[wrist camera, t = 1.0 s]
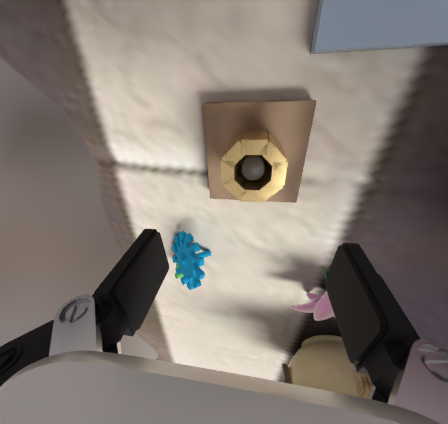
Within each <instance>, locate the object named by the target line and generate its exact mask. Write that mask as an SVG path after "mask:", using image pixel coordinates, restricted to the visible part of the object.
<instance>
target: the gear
mask: <svg viewBox="0 0 448 424" xmlns="http://www.w3.org/2000/svg"><path fill="white" fill-rule="evenodd" d="M174 241H175V243H176V244H173V245H172V250H173V251H174V252H175V254H176V255H174V256H173V262H174V263H175V262H176V263H177V264H176V267H177V268H176V273H175V277H176V278H180V277H181V282H182V284H183V285H184V284H186V283H187V287H188V288H189V289H190V290H191V289H194V288H196V287H199V286H201V282H200V279H203V278H204V276H205V274H204V272H203V271H202V270H201V269H200V267H199V266H202V265H204V257H207V256H210V255H211V252H210V251H209V250H208V251H205V252H202V253H198V254H196V253H195V252H197V251H200V247H199V244H198V243H195V244H192V246H190V241H193V236H192V235H191V233H189V234H186V232H184V231H182V232H179V235H178V236H175V237H174ZM183 276H184V277H183Z"/></svg>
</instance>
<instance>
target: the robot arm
mask: <svg viewBox="0 0 448 424" xmlns="http://www.w3.org/2000/svg"><path fill="white" fill-rule="evenodd" d="M168 270H169V264H168V260H167V256H166V253H165V249H164V246H163V242H162V239H161V235H160V233H159V232H157V230H155V229H145V230H143V232H142V233H141V234H140V235H139V237H138V238H137V239H136V240H135V242H134V243H133V244H132V245H131V247H130V248H129V249H128V250H127V252H126V253H125V254H124V255H123V257H122V258H121V259H120V261H119V262H118V263H117V264H116V266H115V267H114V268H113V269H112V271H111V272H110V273H109V274H108V276H107V277H106V278H105V279H104V281H103V282H102V283H101V284H100V286H99V287H98V288H97V289H96V291H95V293H94V294H93V295H92V296H90V295H80V296H77V297H75V298H73V299H71V300H69V301H68V302H66V303H65V304H64V305H63V306H62V307H61V308H60V309H59V310H58V312H57V313H56V315H55V318H54V320H52V321H50V322H48V323H46V324H44V325H42V326H40V327H38V328H36V329H34V330H32V331H30V332H28V333H26V334H24V335H22V336H20V337H18V338H16V339H14V340H12V341H10V342H8V343H6V344H4V345H3V346H1V347H0V424H448V349H447V348H446V347H444V346H442V345H440V344H438V343H436V342H434V341H430V340H427V339H420V337H419V336H418V334H417V333H416V331H415V329H414V328H413V326H412V325H411V323H410V321H409V320H408V318H407V317H406V315H405V314H404V312H403V310H402V309H401V307H400V306H399V304H398V302H397V301H396V299H395V298H394V296H393V295H392V293H391V291H390V290H389V288H388V287H387V285H386V284H385V282H384V280H383V279H382V277H381V276H380V275H379V274H377V272H376V271H375V269H374V268H373V266H372V264H371V263H370V261H369V260H368V258H367V256H366V255H365V253H364V252H363V250H362V248H361V247H360V245H359V244H355V243H343V244H342V246H341V245H340V246H339V247H338V249H337V252H336V254H335V257H334V259H333V262H332V264H331V267H330V270H329V272H328V275H327V277H326V280H325V287H326V290H327V294H328V297H329V300H330V303H331V306H332V309H333V312H334V315H335V318H336V321H337V324H338V327H339V331H340V334H341V337H342V340H343V343H344V346H345V349H346V352H347V355H348V358H349V360H350V362H351V363H352V364H354V365H355V368H356V371H357V373H363V374H369V377H370V380H371V382H372V384H373V386H372V389H371V392H370V394H369V397H368V399H366V398H361V397H356V396H351V395H346V394H341V393H336V392H331V391H326V390H321V389H316V388H310V387H305V386H299V385H294V384H288V383H283V382H277V381H272V380H266V379H261V378H255V377H250V376H244V375H239V374H233V373H227V372H222V371H216V370H210V369H205V368H199V367H194V366H188V365H182V364H176V363H171V362H165V361H159V360H153V359H147V358H142V357H136V356H129V355H122V353H121V345H120V340H121V338H122V336H123V335H128V336H133V335H134V333H135V331H136V330H138V329H139V328H140V327H141V325H142V323H143V321H144V319H145V317H146V315H147V313H148V311H149V309H150V307H151V305H152V303H153V301H154V299H155V297H156V295H157V292H158V290H159V288H160V286H161V284H162V282H163V280H164V278H165V276H166V274H167V272H168Z"/></svg>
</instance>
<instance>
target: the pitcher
mask: <svg viewBox="0 0 448 424" xmlns="http://www.w3.org/2000/svg"><path fill="white" fill-rule="evenodd" d="M282 369H283V383H288V384H294V385H299V386H305V387H310V388H316V389H321V390H326V391H331V392H336V393H341V394H346V395H351V396H356V397H361V398H366V399H368V397H369V394H370V392H371V389H372V386H373V384H372V382H371V380H370V377H369V374H363V373H357V371H356V368H355V365H354V364H352V363H351V362H350V360H349V358H348V355H347V352H346V349H345V346H344V343H343V340H342V337H339V336H334V335H317V336H313V337H309V338H307V339H305V340H304V341H303V342H302V345H301V348H300V349H299V350H298V351H297V352H296V354H295V355H294V357H293V358H292V360H291V361H290V363H289V365H287V364H285V363H283V364H282Z"/></svg>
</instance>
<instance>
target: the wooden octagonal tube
mask: <svg viewBox="0 0 448 424" xmlns="http://www.w3.org/2000/svg"><path fill="white" fill-rule="evenodd" d="M245 155H262V156H263V157H264V158H265V159H266V160H267V161H268V162H269V165H268V166H267V167H266V168H265V169H264V174H263V175H262V177H261V178H259V179H257V180H249V179H247V178H245V177H244V175H243V174H242V167H241V166H240V165H239V160H241V159H242V158H243V157H244V156H245ZM220 163H221V184H223V186H224V187H225V188H226V189H227V190H228V191H229V192H230V193H231V194H232V195H233V196H234V197H235V198H237V199H238V200H239V199H240V201H253V202H263V200H264V201H266V200H267V199H268V198H270V197H271V196H273V195H274V194H275V193H277V192H278V191H279V190H281V189H282V188H283V186H284V185H285V178H286V172H287V165H288V161H287V158H286V155H285V152H284V149H283V146H282V145H281V144H280V143H279V142H278V141H277V140H276V138H275V137H274V136H273V135H272V134H271V133H270V132H269V130H268V131H267V130H244V131H242V132H241V133H240V134H239V135H238V136H237V137H236V138H235V139H234V140H233V141H232V142H231V143H230V144H229V145H228V147H227V149H226V151H225V153H224V154H223V156H222V158H221V161H220Z"/></svg>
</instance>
